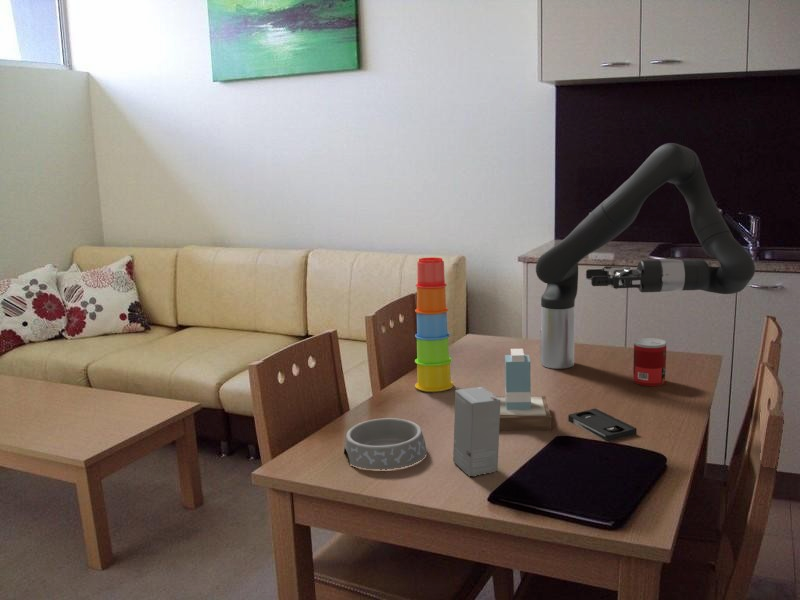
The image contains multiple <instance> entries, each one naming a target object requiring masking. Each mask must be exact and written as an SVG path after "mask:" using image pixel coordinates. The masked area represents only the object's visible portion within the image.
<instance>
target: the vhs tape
mask: <svg viewBox="0 0 800 600" xmlns="http://www.w3.org/2000/svg"><path fill="white" fill-rule="evenodd" d="M567 417H568V418H567V420H568V423H571V424H573V425H575V426H577V427H579V428H580V429H583V430H584V431H586V432H588V433H590V434H592V435H593V436H595V437H598V438H599V439H601V440H604V441H605V442H608V443H609V442H612V441H616V440H621V439H624V438H625V439H626V438H628V437H634V436H637V431H638V430H637V427H635V426H633V425H631V424H628V423H627V422H624V421H622V420H620V419H619V418H615V417H614V416H611V415H609V414H607V413H606V412H604V411H602V410H600V409H598V408H591V409H590V410H589V409H587V410H584V411H583V410H582V411H578V412H573V413H570V414H568V416H567ZM616 426H617V427H619V428H617V427H616Z"/></svg>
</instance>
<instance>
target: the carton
mask: <svg viewBox="0 0 800 600" xmlns="http://www.w3.org/2000/svg"><path fill="white" fill-rule="evenodd" d="M504 375H505V376H504V379H505V381H504V382H505V383H504V389H505V390H504V396H506V408H507V410H521V409H531V396H532V390H531V386H532V385H531V382H532V381H531V377H532V376H531V358H530V355H529V354H525V352H524V349H523V348H510V354H505V355H504Z"/></svg>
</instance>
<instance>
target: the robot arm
mask: <svg viewBox="0 0 800 600" xmlns="http://www.w3.org/2000/svg"><path fill="white" fill-rule="evenodd" d="M666 183H670V184H672V185H674V186H676V188H677V189H678V191H679V192H680V193H681V195H682V196H683V197H684V200H685V202H686V204H687V206H688V207H687V208H688V211H689V218H690V223H691V227H692V229H693V231H694V234H695V236H696V237H697V240H698V242H699V243H700V245H701V247H702V249H703V251H704V253H705V254H706V255H707V256H708V257H709V258H710V257H711V258H716V259H717V261H718V263H719V264H720V266H711V265H709V264H708V263H707V261H705V260H702V259H673V258H671V259H669V258H668V259H666V258H665V259H641V260H639V261H638V263H637V268H636V269H634V268H633V269H632V268H631V266H630V265H623V266H622V265H621V266H620V265H619V266H618V265H617V266H603V267H602V268H596V269H595V268H591V269H590V268H588V269H587V270H586V271H585V278H586V279H587V280H591V282H590V284H591V285H592V287H609V288H613V289H615V290H616V289H632V288H633V289H635V288H637V289H638V291H639V292H640V293H672V292H673V293H674V292H678V291H679V292H680V291H704V292H708V293H715V294H722V295H731V294H733V295H734V294H737V293H739V292H740V293H741V292H742V291H743V290H744V289H745V288H746V287H747V286H748V284H749V283H750V281H751V280H752V278H753V277H754V276H755V273H756V266H755V262H754V259H753V258H752V256H751V255H750V254H749V252H748V251H747V250H746V249H745V247H743V245H741V243H740V242H739V241H738V240H737V239H736V238H734V236H733V234H732V232H731V230H730V228H729V226H728V223H727V222H726V220H725V219H724V217H723V215H722V213H721V212H720V210H719V208H718V206H717V204H716V202H715V199H714V197H713V195H712V192H711V189H710V187H709V185H708V182H707V179H706V177H705V173H704V170H703V166H702V165H701V161H700V159H699V156H698V155H697V153H696V152H695V151H694V150H692V149H691V148H689V147H686V146H684V145H682V144H678V143H675V142H668V143H664V144H662V145H660V146H659V147H658V148H656V149H655V150H654V151H653V152H652V153H650V155H649V156H648V157H647V158H646V159H645V161H644V162H643V163H642V164H641V165H640V166H639V167H638V168H637V169H636V170H635V171H634V173H633V174H632V175H630V177H629V178H628V179H627V180H625V181H624V182H623V183H622V184H621V185H620V186H619V187H618V188H616V190H614V192H612V193H611V194H610V195H608V197H607V198H605V199H604V200H603V201H602V202H601V203H600V204H598V205H597V206H596V207H595V208H594V209H592V211H591V212H589V214H588V215H587V216H586V217H584V219H582V220H581V221H580V222H579V223H578V225H577V226H576V227H574V229H573V230H572V231H571V232H570V233H569V234H568V235H567V236H566V237H565V238H564V239H562V240H560V241H559V242H558V243H557V244H555V245H554V246H552V247H551V248H549V249H548V250H547V251H545V252H544V253H542V255H540V257H538V260H537V262H536V265H535V273H536V276H537V278H538V279H539V280H540V281H541V282H543V283H545V284H546V288H545V290H544V292H543V294H542V295H541V298H540V307H541V309H540V311H541V313H540V315H541V316H540V318H541V320H540V322H541V323H540V325H541V327H540V328H541V330H540V334H539V337H540V341H539V343H540V351H539V352H540V353H539V354H540V356H539V357H540V363H541V365H542V367H546V368H548V369H553V370H554V369H557V370H558V369H561V370H562V369H568V368H571V367H574V366H575V303H576V302H575V301H576V298H577V295H578V287H579V285H578V283H579V264H578V263H580V262H581V261H582V260H583V259H584V258H585V257H587V256H588V255H590V254H592V253H593V252H596V250H599V249H600V248H602V247H603V246H605V245H607V244H608V243H610V242H611V241H612V240H614V239H616V237H618V236H620V234H622V232H624V231H625V230H626V229H627V228H629V227H630V225H632V224H633V222H635V220H636V218H637V216H638V214H639V213H640V210H641V208H642V206H643V204H644V202H645V201H646V199H648V198H649V196H651V194H652V193H654V192H655V191H656V190H658V189H659V188H660V187H661V186H664V185H665V184H666Z"/></svg>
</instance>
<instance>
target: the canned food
mask: <svg viewBox="0 0 800 600" xmlns="http://www.w3.org/2000/svg"><path fill="white" fill-rule="evenodd" d="M666 366H667V341H666V340H664V339H661V338H656V337H655V338H654V337H641V338H636V339H635V340H634V342H633V371H632V373H633V374H632V376H633V377H632V378H633V381H634V383H636V384H638V385H639V384H640V385H639V386H644V385H645V387H658V385H659V386H662V385H664V383H665V381H666V369H667V368H666Z"/></svg>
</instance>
